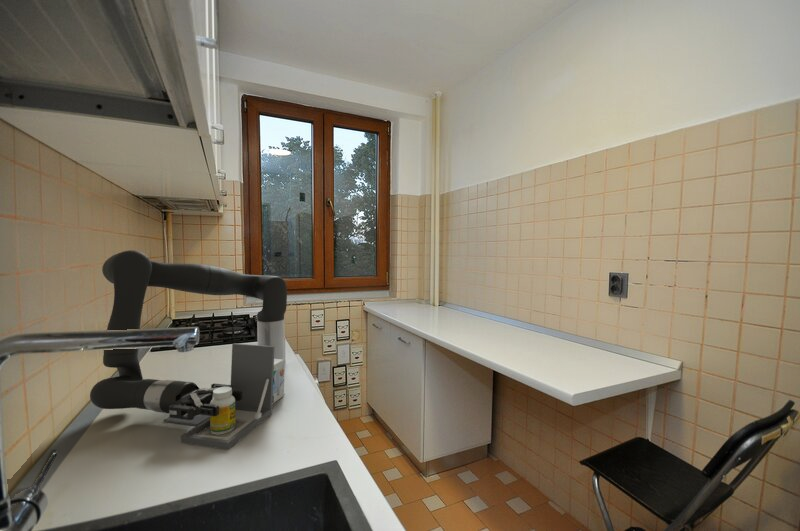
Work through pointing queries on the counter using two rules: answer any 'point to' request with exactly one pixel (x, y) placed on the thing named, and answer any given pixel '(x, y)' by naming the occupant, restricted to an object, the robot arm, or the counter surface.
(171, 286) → the robot arm
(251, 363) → the case
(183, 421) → the pad
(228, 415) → the supplement bottle
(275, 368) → the light bulb box
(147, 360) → the counter surface
